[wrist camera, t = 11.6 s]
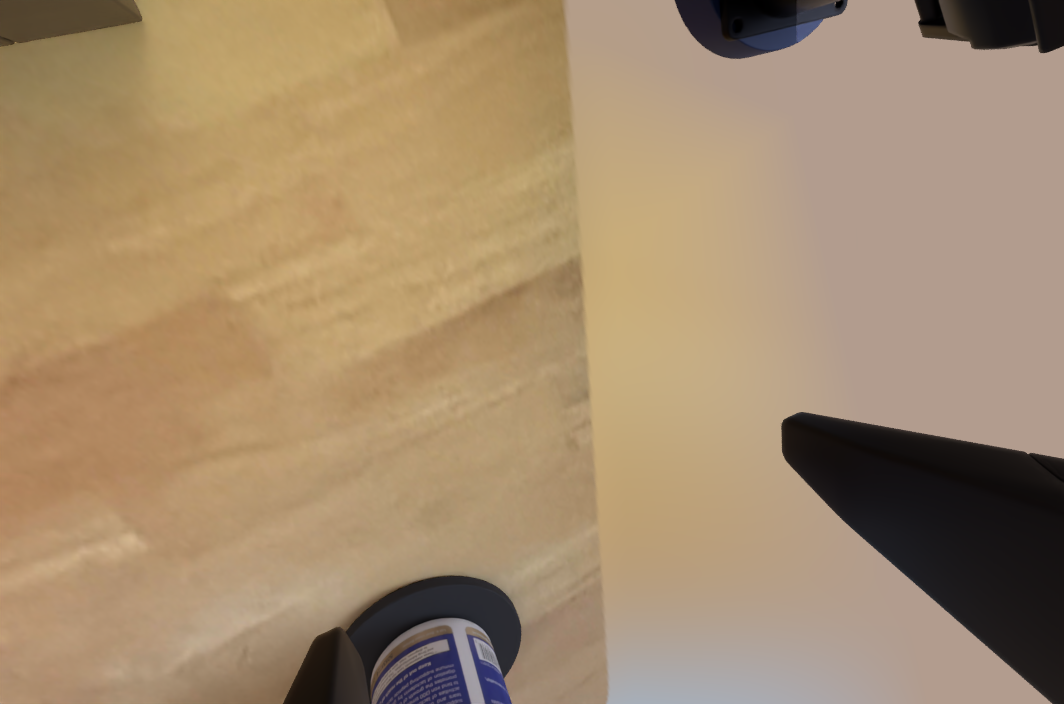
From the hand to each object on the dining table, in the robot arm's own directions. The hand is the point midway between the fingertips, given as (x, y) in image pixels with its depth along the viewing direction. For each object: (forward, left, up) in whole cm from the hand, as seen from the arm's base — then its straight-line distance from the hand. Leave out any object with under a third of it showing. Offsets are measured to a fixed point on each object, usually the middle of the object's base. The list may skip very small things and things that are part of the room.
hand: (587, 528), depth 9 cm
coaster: (+6, +15, -12) cm, 20 cm away
